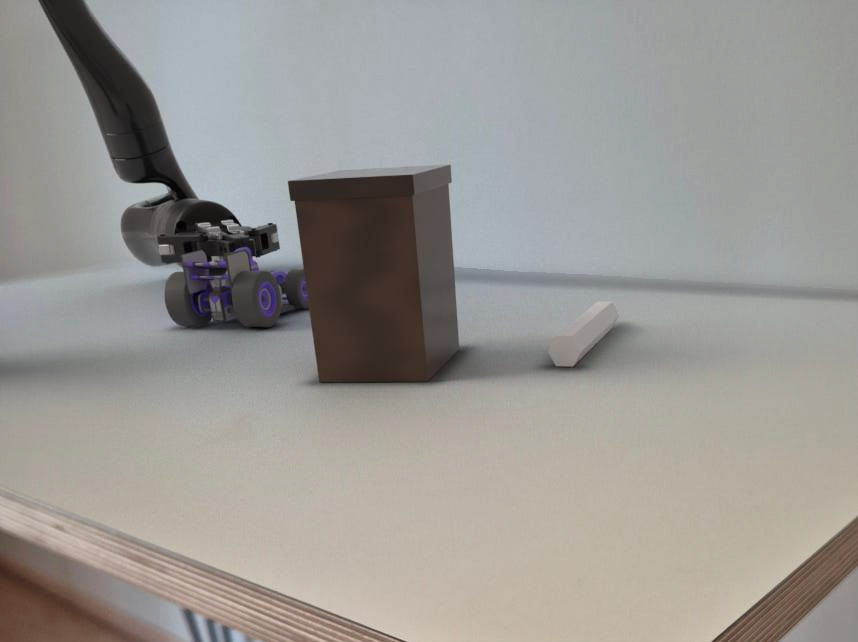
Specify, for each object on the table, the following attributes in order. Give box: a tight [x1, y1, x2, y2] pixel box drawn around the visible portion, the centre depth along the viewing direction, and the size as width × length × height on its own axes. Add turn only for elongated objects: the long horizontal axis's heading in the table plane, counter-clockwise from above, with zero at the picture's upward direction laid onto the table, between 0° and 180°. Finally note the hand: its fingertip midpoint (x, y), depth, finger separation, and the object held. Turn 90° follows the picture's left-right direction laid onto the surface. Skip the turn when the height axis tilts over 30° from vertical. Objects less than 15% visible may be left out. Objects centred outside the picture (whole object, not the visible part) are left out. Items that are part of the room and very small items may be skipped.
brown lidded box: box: [287, 164, 460, 383], centre depth 69 cm, size 9×10×13 cm
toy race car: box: [164, 247, 309, 328], centre depth 92 cm, size 10×15×6 cm, turn 161°
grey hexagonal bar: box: [547, 301, 620, 368], centre depth 74 cm, size 3×2×16 cm
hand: (244, 249), depth 91 cm, fingers closed
